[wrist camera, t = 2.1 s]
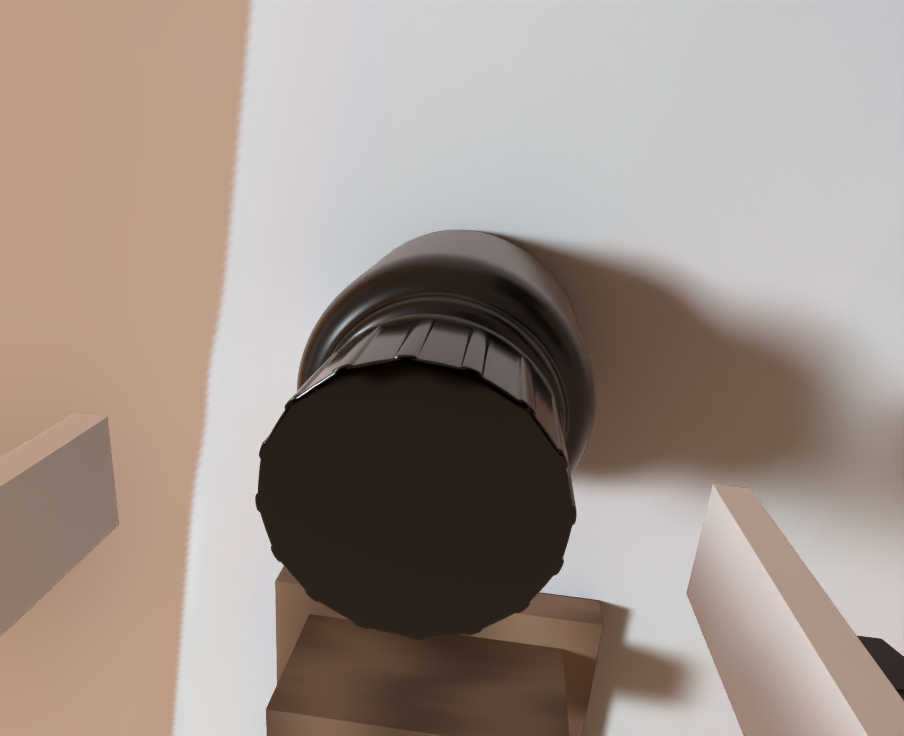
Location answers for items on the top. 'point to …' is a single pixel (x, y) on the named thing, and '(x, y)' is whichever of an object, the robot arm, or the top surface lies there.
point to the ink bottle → (432, 440)
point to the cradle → (432, 673)
